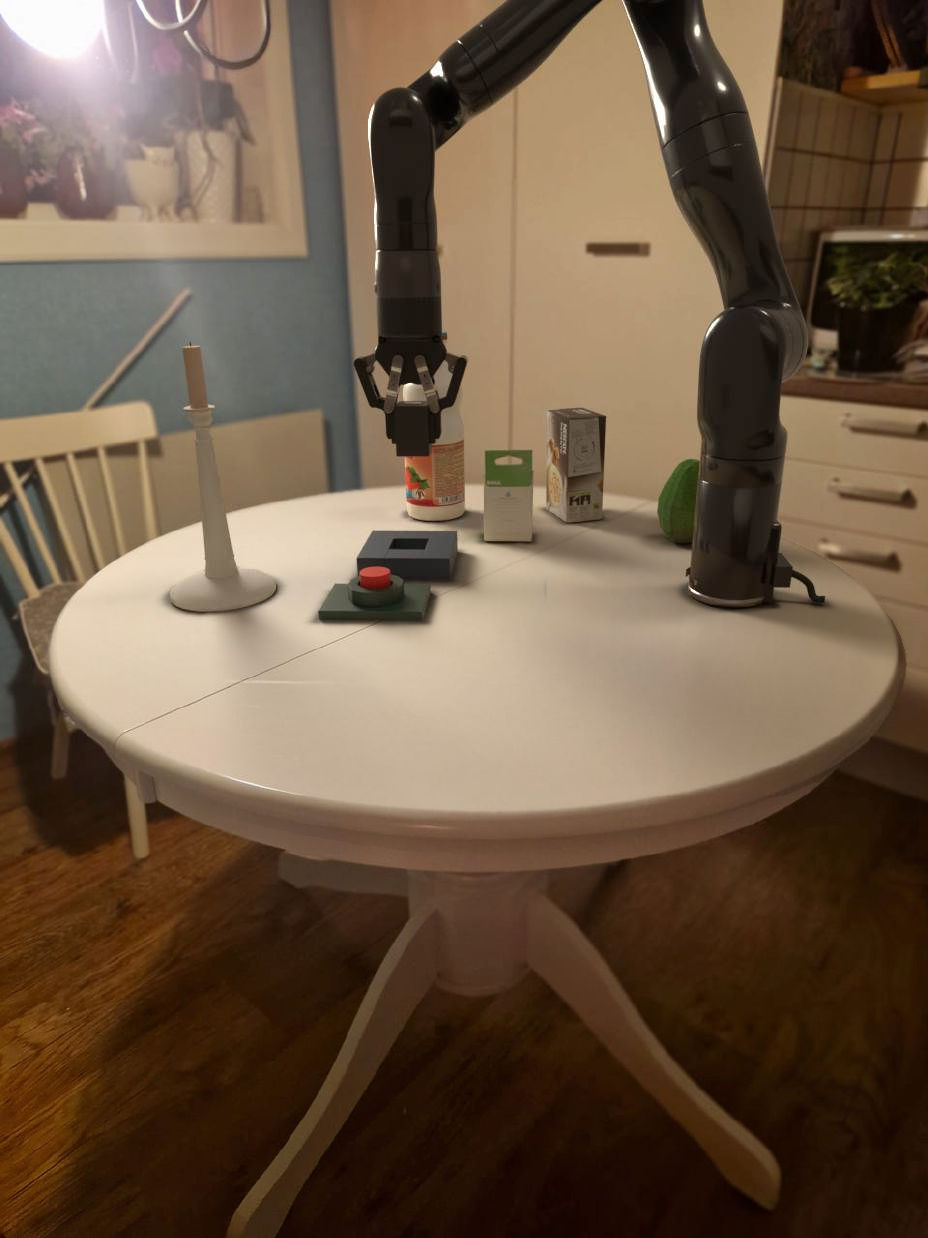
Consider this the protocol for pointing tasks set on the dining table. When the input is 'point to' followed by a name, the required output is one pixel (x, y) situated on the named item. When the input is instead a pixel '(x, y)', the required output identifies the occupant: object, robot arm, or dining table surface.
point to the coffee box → (575, 464)
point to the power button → (375, 578)
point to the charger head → (412, 429)
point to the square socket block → (411, 553)
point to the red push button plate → (376, 601)
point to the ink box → (508, 496)
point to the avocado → (679, 502)
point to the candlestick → (213, 519)
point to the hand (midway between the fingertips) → (414, 441)
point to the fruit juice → (438, 459)
